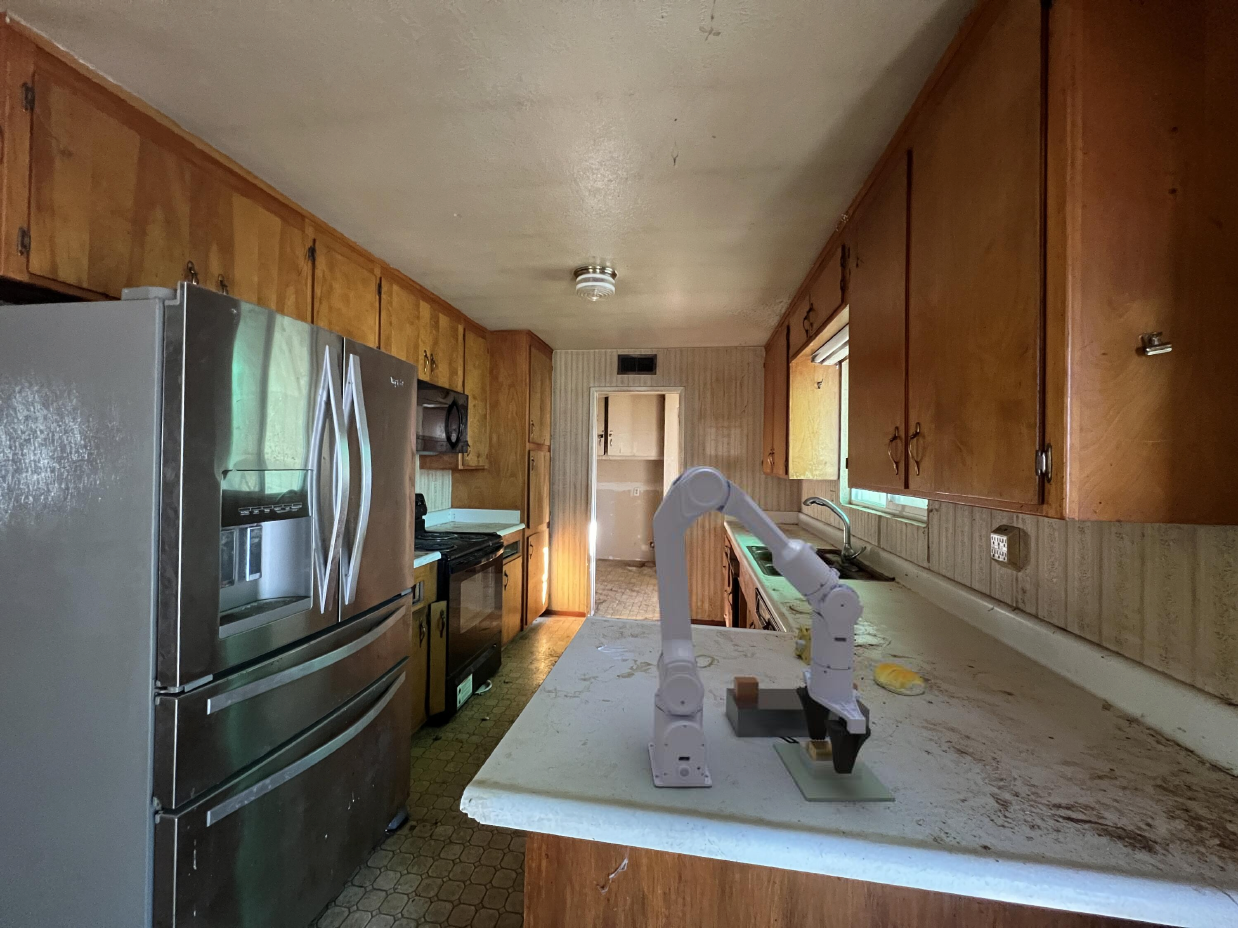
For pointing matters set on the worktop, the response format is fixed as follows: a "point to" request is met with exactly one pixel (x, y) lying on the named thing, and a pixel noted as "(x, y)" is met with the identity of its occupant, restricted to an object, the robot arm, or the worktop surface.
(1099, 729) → the worktop surface
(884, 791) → the rubber mat
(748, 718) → the hand plane
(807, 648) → the yellow pipe fitting
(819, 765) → the lever cap
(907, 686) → the bread roll
